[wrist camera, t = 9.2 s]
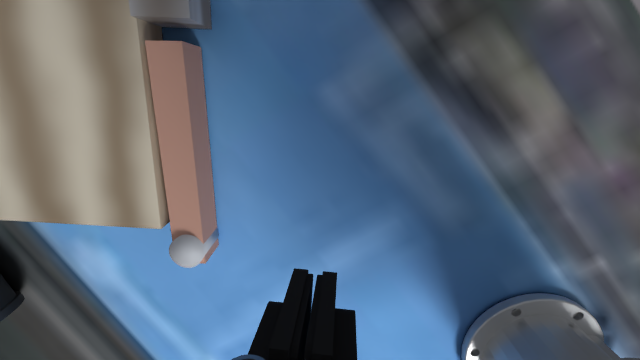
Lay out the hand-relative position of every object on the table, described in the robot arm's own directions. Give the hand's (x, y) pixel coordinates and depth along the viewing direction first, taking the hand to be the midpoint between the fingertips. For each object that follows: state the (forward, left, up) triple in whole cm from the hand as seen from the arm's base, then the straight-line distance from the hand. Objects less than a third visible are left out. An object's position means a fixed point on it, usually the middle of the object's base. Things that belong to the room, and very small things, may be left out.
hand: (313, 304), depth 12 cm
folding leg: (+10, -2, -14) cm, 18 cm away
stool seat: (+19, -6, -14) cm, 24 cm away
